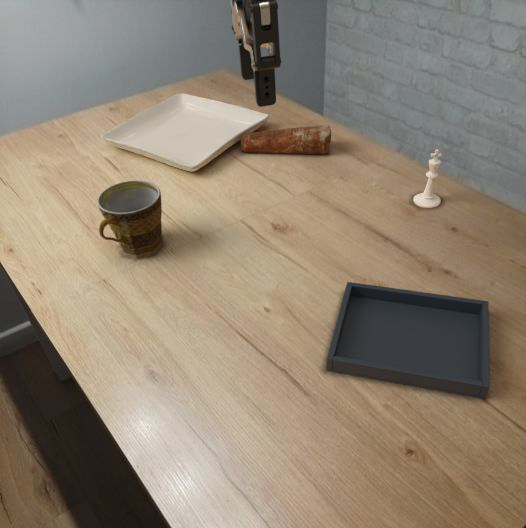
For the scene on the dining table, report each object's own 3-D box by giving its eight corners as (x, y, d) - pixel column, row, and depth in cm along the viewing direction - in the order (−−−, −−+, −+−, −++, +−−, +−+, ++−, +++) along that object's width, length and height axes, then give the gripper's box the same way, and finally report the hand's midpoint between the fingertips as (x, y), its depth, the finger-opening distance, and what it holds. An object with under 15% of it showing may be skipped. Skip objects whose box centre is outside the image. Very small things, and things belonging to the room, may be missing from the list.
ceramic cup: (136, 226, 93) (122, 175, 86) (182, 238, 90) (172, 186, 83) (90, 268, 86) (71, 216, 78) (139, 283, 82) (124, 230, 75)
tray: (483, 315, 73) (488, 301, 71) (483, 401, 63) (489, 387, 61) (346, 295, 78) (347, 281, 76) (325, 372, 68) (326, 358, 66)
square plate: (101, 152, 114) (96, 134, 111) (182, 106, 129) (179, 90, 126) (195, 183, 103) (192, 164, 100) (272, 129, 117) (271, 112, 115)
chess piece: (410, 196, 95) (419, 143, 88) (437, 195, 95) (449, 142, 88) (414, 211, 92) (424, 157, 85) (442, 210, 92) (455, 156, 84)
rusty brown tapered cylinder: (329, 159, 106) (331, 132, 102) (239, 157, 109) (237, 131, 105) (331, 145, 111) (332, 119, 107) (244, 143, 113) (242, 118, 109)
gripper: (302, -82, 45) (305, 109, 56) (266, -102, 54) (274, 65, 66) (217, -70, 44) (238, 120, 56) (195, -92, 53) (217, 74, 65)
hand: (258, 90), depth 61 cm, fingers open, 8 cm apart
